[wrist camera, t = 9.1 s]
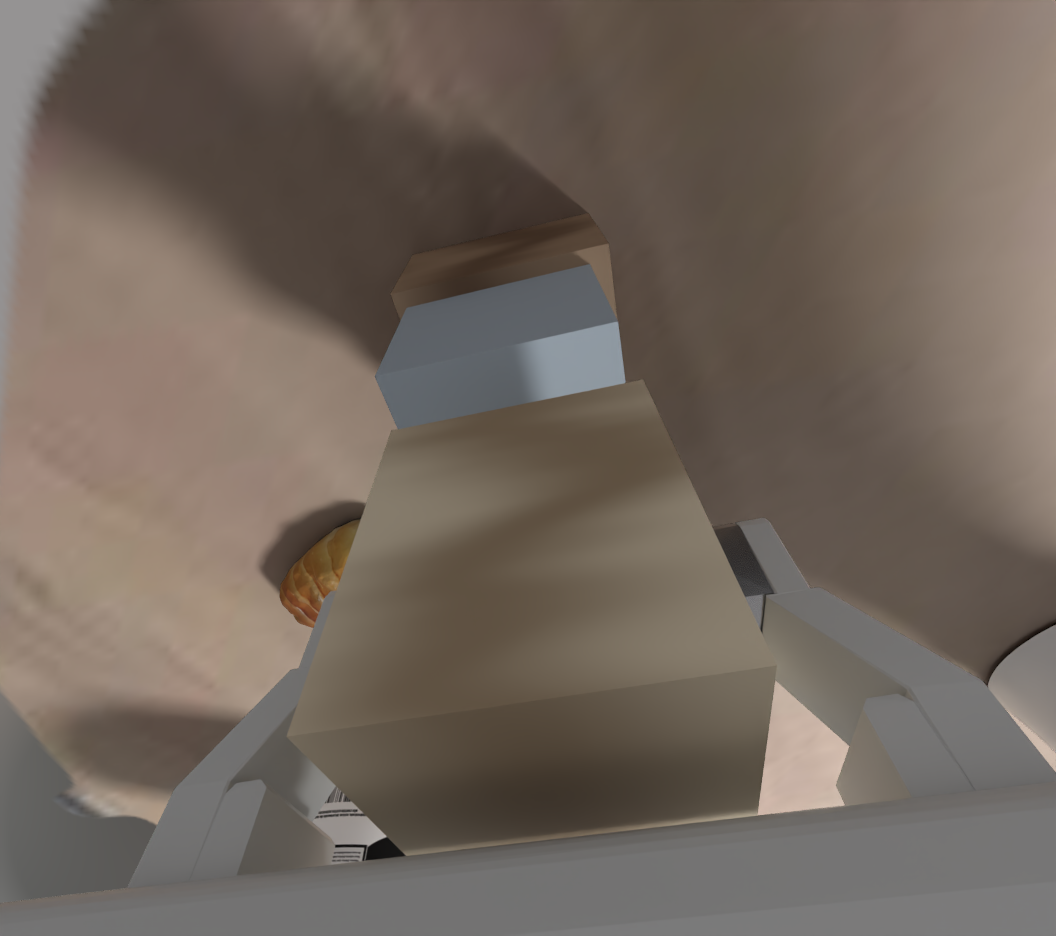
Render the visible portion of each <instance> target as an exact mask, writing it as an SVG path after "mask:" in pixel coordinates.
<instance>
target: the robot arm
mask: <svg viewBox="0 0 1056 936" xmlns="http://www.w3.org/2000/svg"><path fill="white" fill-rule="evenodd" d="M712 528H713V530H714V532H715V534H716V536H717V538H718V540H719V543H720V545H721V547H722V549H723V551H724V553H725V555H726V558H727V560H728V562H729V564H730V566H731V568H732V570H733V573H734V575H735V577H736V579H737V581H738V583H739V585H740V587H741V590H742V592H743V594H744V596H745V598H746V600H747V602H748V605H749V607H750V609H751V611H752V613H753V615H754V617H755V620H756V622H757V624H758V626H759V628H760V630H761V632H762V634H763V637H764V639H765V641H766V643H767V645H768V647H769V649H770V652H771V654H772V656H773V658H774V660H775V662H776V664H777V670H776V677H775V680H776V681H777V682H778V683H779V684H780V685H781V686H782V687H784V688H785V689H786V690H787V691H788V692H789V693H790V694H792V695H793V696H794V697H795V698H796V699H797V700H798V701H799V702H801V703H802V704H803V705H804V706H805V707H806V708H807V709H808V710H810V711H811V712H812V713H813V714H814V715H815V716H816V717H817V718H819V719H820V720H821V721H822V722H823V723H824V724H825V725H826V726H828V727H829V728H830V729H831V730H832V731H833V732H834V733H835V734H837V735H838V736H839V737H840V738H841V739H842V740H843V741H845V742H846V743H847V744H848V745H849V746H850V747H849V749H848V752H847V755H846V758H845V761H844V764H843V767H842V769H841V772H840V775H839V778H838V781H837V784H836V786H837V789H838V791H839V793H840V795H841V797H842V800H843V802H844V804H845V806H837V807H828V808H819V809H810V810H802V811H793V812H784V813H776V814H767V815H758V816H750V817H741V818H732V819H724V820H715V821H706V822H697V823H689V824H680V825H671V826H663V827H654V828H645V829H637V830H628V831H619V832H611V833H602V834H593V835H584V836H576V837H567V838H558V839H550V840H541V841H532V842H524V843H515V844H506V845H498V846H489V847H480V848H471V849H463V850H454V851H445V852H437V853H428V854H419V855H411V856H402V857H393V858H385V859H376V860H367V861H359V862H350V863H341V864H333V865H331V863H332V859H333V854H334V849H335V844H334V842H333V840H332V839H331V837H329V836H328V835H327V834H326V833H325V832H323V831H322V830H321V829H320V828H319V827H317V826H316V825H315V824H314V823H313V820H314V819H315V817H316V816H317V814H318V813H319V811H320V810H321V808H322V806H323V805H324V803H325V802H326V800H327V799H328V797H329V796H330V794H331V793H332V791H333V790H334V788H335V787H336V786H335V785H334V784H333V783H332V782H331V781H330V780H329V779H328V778H327V777H326V776H325V775H324V774H323V773H322V772H321V771H320V770H319V769H318V768H317V767H316V766H315V765H314V764H313V763H312V762H311V761H310V760H309V759H308V758H307V757H306V756H305V755H304V754H303V753H302V752H301V751H300V750H299V749H298V748H297V747H296V746H295V745H294V744H293V743H292V742H291V741H290V740H289V739H288V738H287V737H286V736H287V733H288V730H289V728H290V725H291V722H292V719H293V716H294V713H295V710H296V707H297V704H298V701H299V698H300V696H301V693H302V690H303V687H304V684H305V681H306V678H307V675H308V672H309V669H310V666H311V663H312V661H313V658H314V655H315V652H316V649H317V646H318V643H319V640H320V637H321V634H322V631H323V628H324V626H325V623H326V620H327V617H328V614H329V611H330V608H331V605H332V602H333V599H334V596H335V593H336V591H337V590H336V591H331V592H330V593H329V594H328V595H327V596H326V597H325V598H324V600H323V603H322V606H321V609H320V611H319V614H318V617H317V619H316V622H315V625H314V628H313V630H312V633H311V636H310V639H309V641H308V644H307V647H306V649H305V652H304V655H303V658H302V660H301V663H300V666H299V668H297V669H292V670H290V671H289V672H288V673H287V674H286V675H285V676H284V677H283V678H282V679H281V680H280V681H279V682H278V683H277V684H276V685H275V687H274V688H273V689H272V690H271V691H270V692H269V693H268V694H267V695H266V696H265V697H264V698H263V699H262V700H261V701H260V702H259V703H258V704H257V705H256V706H255V707H254V708H253V709H252V710H251V711H250V712H249V713H248V714H247V715H246V716H245V717H244V718H243V719H242V720H241V721H240V722H239V723H238V724H237V725H236V726H235V727H234V728H233V729H232V730H231V731H230V732H229V734H228V735H227V736H226V737H225V738H224V739H223V740H222V741H221V742H220V743H219V744H218V745H217V746H216V747H215V748H214V749H213V750H212V751H211V752H210V753H209V754H208V755H207V756H206V757H205V758H204V759H203V760H202V761H201V762H200V763H199V764H198V765H197V766H196V767H195V768H194V769H193V770H192V771H191V772H190V773H189V774H188V775H187V776H186V777H185V778H184V780H183V781H182V782H181V783H180V784H179V785H178V786H177V787H176V788H175V789H174V791H173V793H172V795H171V798H170V800H169V802H168V804H167V806H166V808H165V810H164V812H163V814H162V816H161V818H160V820H159V822H158V825H157V827H156V829H155V831H154V833H153V835H152V837H151V839H150V841H149V843H148V845H147V847H146V850H145V852H144V854H143V856H142V858H141V860H140V862H139V864H138V866H137V868H136V870H135V872H134V875H133V877H132V879H131V881H130V883H129V885H128V887H127V888H126V889H116V890H108V891H99V892H91V893H83V894H74V895H65V896H56V897H48V898H39V899H30V900H21V901H13V902H4V903H0V936H1056V772H1055V771H1054V770H1053V768H1052V767H1051V766H1050V765H1049V763H1048V762H1047V761H1046V760H1045V758H1044V757H1043V756H1042V755H1041V754H1040V752H1039V751H1038V750H1037V749H1036V747H1035V746H1034V745H1033V744H1032V742H1031V741H1030V740H1029V739H1028V737H1027V736H1026V735H1025V734H1024V732H1023V731H1022V730H1021V729H1020V727H1019V726H1018V725H1017V724H1016V722H1015V721H1014V720H1013V719H1012V717H1011V716H1010V715H1009V714H1008V712H1009V713H1011V714H1012V715H1013V716H1014V717H1016V718H1017V719H1018V720H1019V721H1020V722H1022V723H1023V724H1024V725H1025V726H1026V727H1028V728H1029V729H1030V730H1031V731H1032V732H1033V733H1034V734H1035V735H1037V736H1038V737H1039V738H1040V739H1041V740H1042V741H1043V742H1044V743H1045V744H1047V745H1048V746H1049V747H1050V748H1051V749H1052V750H1053V751H1054V752H1055V753H1056V625H1054V626H1052V627H1050V628H1048V629H1046V630H1045V631H1043V632H1041V633H1039V634H1038V635H1036V636H1034V637H1033V638H1031V639H1030V640H1028V641H1026V642H1025V643H1024V644H1022V645H1021V646H1019V647H1018V648H1017V649H1015V650H1014V651H1013V652H1012V653H1011V654H1009V655H1008V656H1007V657H1006V658H1005V659H1004V660H1003V661H1002V662H1001V663H1000V664H999V665H998V667H997V668H996V669H995V671H994V672H993V674H992V676H991V678H990V680H989V683H988V687H987V686H986V685H985V684H984V682H983V681H982V680H980V679H979V678H977V677H975V676H973V675H972V674H970V673H968V672H966V671H965V670H963V669H961V668H960V667H958V666H956V665H954V664H953V663H951V662H949V661H947V660H946V659H944V658H942V657H940V656H939V655H937V654H935V653H933V652H932V651H930V650H928V649H926V648H925V647H923V646H921V645H920V644H918V643H916V642H914V641H913V640H911V639H909V638H907V637H906V636H904V635H902V634H900V633H899V632H897V631H895V630H893V629H892V628H890V627H888V626H887V625H885V624H883V623H881V622H880V621H878V620H876V619H874V618H873V617H871V616H869V615H867V614H866V613H864V612H862V611H860V610H859V609H857V608H855V607H854V606H852V605H850V604H848V603H847V602H845V601H843V600H841V599H840V598H838V597H836V596H834V595H833V594H831V593H829V592H827V591H826V590H824V589H822V588H821V587H817V588H810V587H809V585H808V583H807V582H806V580H805V579H804V577H803V575H802V574H801V572H800V570H799V569H798V567H797V566H796V564H795V562H794V561H793V559H792V557H791V556H790V554H789V553H788V551H787V549H786V548H785V546H784V544H783V543H782V541H781V540H780V538H779V536H778V535H777V533H776V531H775V530H774V528H773V527H772V525H771V523H770V522H769V521H768V520H767V519H765V518H758V519H753V520H747V521H742V522H736V523H735V524H734V523H730V524H725V525H719V526H714V527H712ZM1005 709H1006V710H1007V711H1008V712H1007V711H1006V710H1005Z"/></svg>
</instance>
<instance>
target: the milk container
mask: <svg viewBox="0 0 1056 936" xmlns="http://www.w3.org/2000/svg"><path fill="white" fill-rule="evenodd" d="M313 823H314V824H315V825H316V826H317V827H319V828H320V829H321V830H322V831H323V832H325V833H326V834H327V835H328V836H329V837H331V839H332V840H333V842H334V844H335V849H334V854H333V859H332V863H331V865H333V864H341V863H350V862H359V861H367V860H376V859H385V858H393V857H402V856H406V855H405V854H404V853H403V852H402V851H401V850H400V849H399V848H398V847H397V846H396V845H395V844H394V843H393V842H392V841H391V840H390V839H389V838H388V837H387V836H386V835H385V834H384V833H383V832H382V831H381V830H380V829H379V828H378V827H377V826H376V825H375V824H374V823H373V822H372V821H371V820H370V819H369V818H368V817H367V816H366V815H365V814H364V813H363V812H362V811H361V810H360V809H359V808H358V807H357V806H356V805H355V804H354V803H353V802H352V801H351V800H350V799H349V798H348V797H347V796H346V795H345V794H344V793H343V792H341V791H340V790H339V789H338V788H337V787H335V788H334V790H333V791H332V793H331V794H330V796H329V797H328V799H327V800H326V802H325V803H324V805H323V806H322V808H321V810H320V811H319V813H318V814H317V816H316V817H315V819H314V820H313Z"/></svg>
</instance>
